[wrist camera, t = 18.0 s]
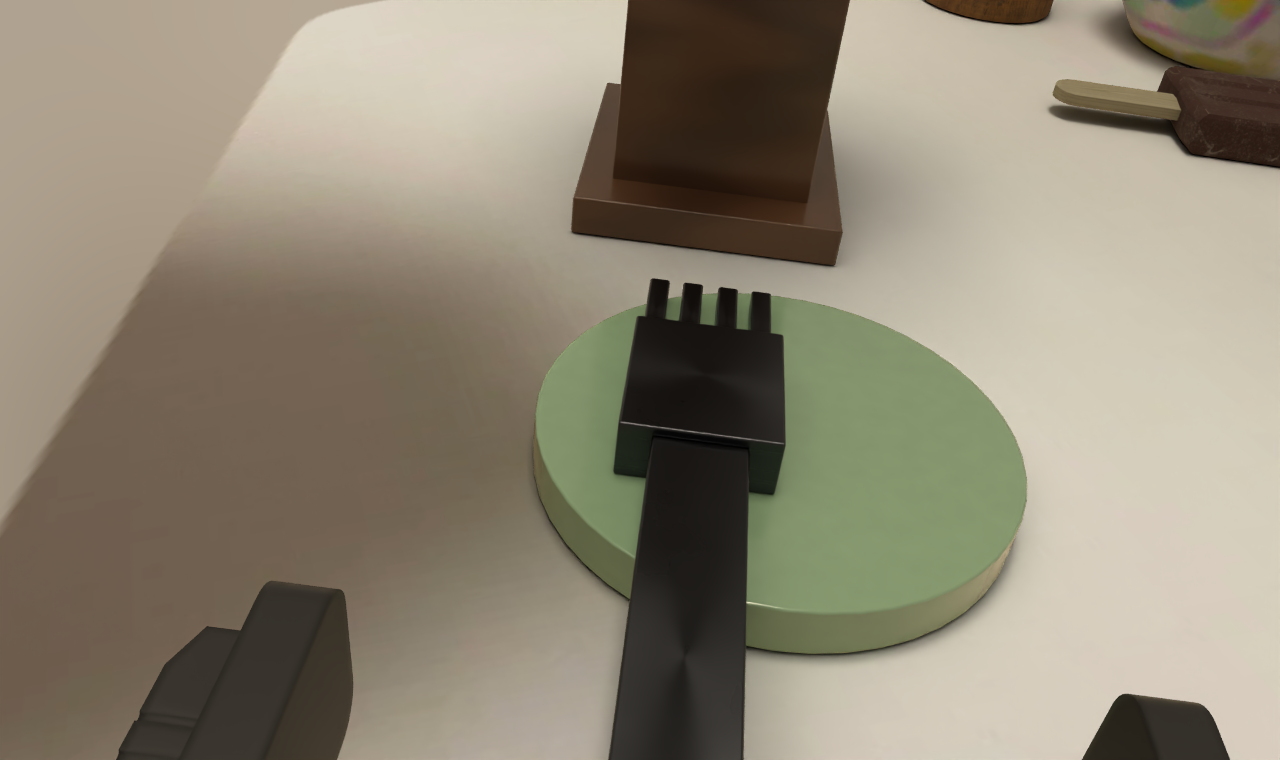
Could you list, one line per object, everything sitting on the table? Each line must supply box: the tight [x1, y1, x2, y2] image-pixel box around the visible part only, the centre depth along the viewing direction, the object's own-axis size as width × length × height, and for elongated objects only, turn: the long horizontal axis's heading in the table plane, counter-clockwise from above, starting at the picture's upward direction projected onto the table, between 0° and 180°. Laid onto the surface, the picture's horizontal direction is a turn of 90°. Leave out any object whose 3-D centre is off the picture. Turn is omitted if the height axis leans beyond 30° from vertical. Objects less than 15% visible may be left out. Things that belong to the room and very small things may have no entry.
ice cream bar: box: [1053, 66, 1280, 167], centre depth 44 cm, size 5×2×15 cm
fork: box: [609, 278, 786, 760], centre depth 21 cm, size 3×18×1 cm, turn 175°
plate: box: [533, 293, 1027, 654], centre depth 25 cm, size 11×11×1 cm
